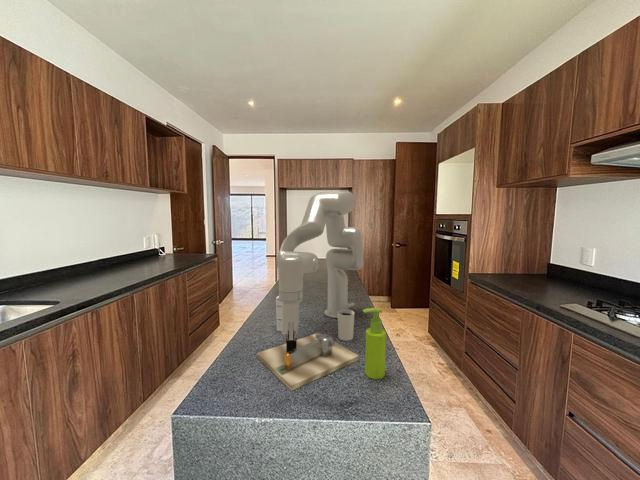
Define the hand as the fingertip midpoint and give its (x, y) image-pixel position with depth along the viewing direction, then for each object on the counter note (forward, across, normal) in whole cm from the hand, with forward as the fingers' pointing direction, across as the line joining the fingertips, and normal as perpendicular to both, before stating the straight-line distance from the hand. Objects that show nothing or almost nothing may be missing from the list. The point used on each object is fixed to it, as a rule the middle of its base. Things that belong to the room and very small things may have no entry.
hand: (291, 351), depth 86 cm
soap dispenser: (+5, +8, +25) cm, 26 cm away
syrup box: (+5, -27, -3) cm, 28 cm away
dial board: (+4, -3, +5) cm, 7 cm away
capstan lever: (+3, +1, +6) cm, 6 cm away
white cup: (+5, -17, +21) cm, 28 cm away
